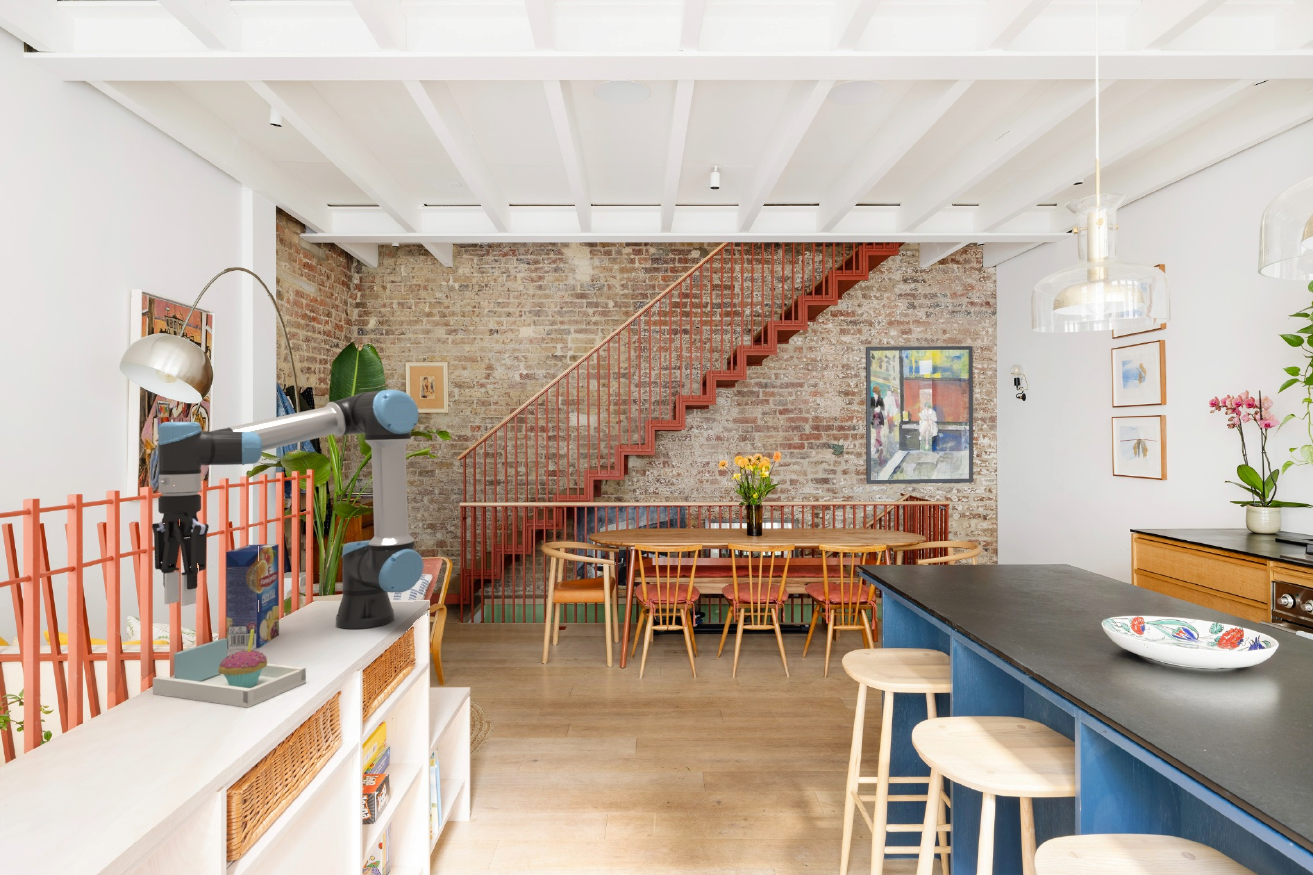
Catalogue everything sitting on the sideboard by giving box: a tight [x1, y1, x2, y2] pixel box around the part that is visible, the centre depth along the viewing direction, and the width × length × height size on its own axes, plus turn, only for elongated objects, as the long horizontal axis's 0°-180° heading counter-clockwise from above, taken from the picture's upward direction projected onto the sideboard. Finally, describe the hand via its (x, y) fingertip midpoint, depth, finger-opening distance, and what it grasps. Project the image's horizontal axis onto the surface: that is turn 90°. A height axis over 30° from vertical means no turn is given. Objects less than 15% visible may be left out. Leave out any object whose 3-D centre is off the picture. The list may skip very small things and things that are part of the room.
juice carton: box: [225, 543, 280, 651], centre depth 175 cm, size 12×8×24 cm, turn 7°
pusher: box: [173, 637, 228, 681], centre depth 145 cm, size 11×5×7 cm, turn 162°
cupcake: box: [218, 626, 268, 688], centre depth 141 cm, size 9×8×12 cm
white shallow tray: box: [152, 662, 307, 708], centre depth 142 cm, size 14×25×3 cm, turn 72°
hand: (180, 603), depth 146 cm, fingers open, 4 cm apart
